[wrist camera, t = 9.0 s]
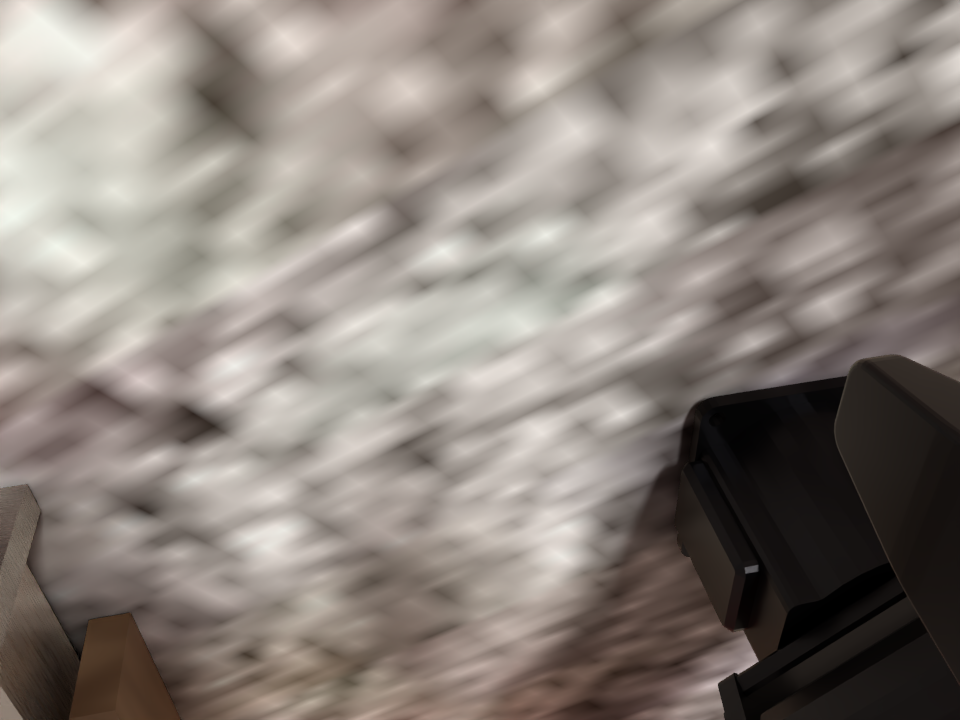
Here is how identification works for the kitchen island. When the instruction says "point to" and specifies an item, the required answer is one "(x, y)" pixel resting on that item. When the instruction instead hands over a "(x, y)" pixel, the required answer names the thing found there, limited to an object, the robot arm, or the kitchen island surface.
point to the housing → (119, 675)
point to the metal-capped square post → (29, 624)
